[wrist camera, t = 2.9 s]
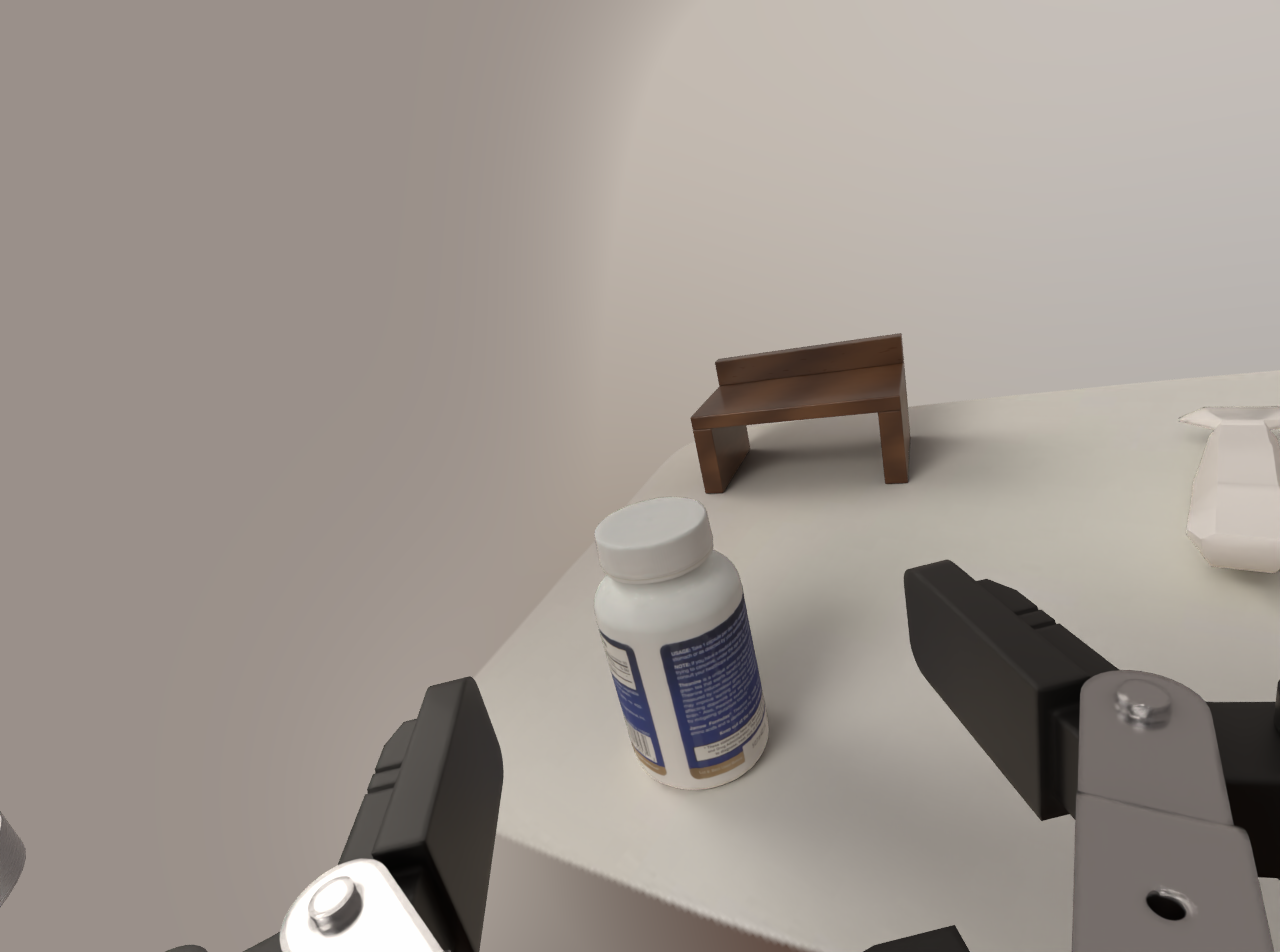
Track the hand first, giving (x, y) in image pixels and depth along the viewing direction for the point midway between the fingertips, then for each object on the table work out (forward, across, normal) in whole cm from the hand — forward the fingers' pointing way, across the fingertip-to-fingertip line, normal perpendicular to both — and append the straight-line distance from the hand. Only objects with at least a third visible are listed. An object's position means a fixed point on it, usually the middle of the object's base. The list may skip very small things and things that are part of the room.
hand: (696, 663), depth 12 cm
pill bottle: (+11, 0, +12) cm, 16 cm away
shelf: (+36, -13, +11) cm, 40 cm away
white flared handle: (+17, -28, +12) cm, 34 cm away
